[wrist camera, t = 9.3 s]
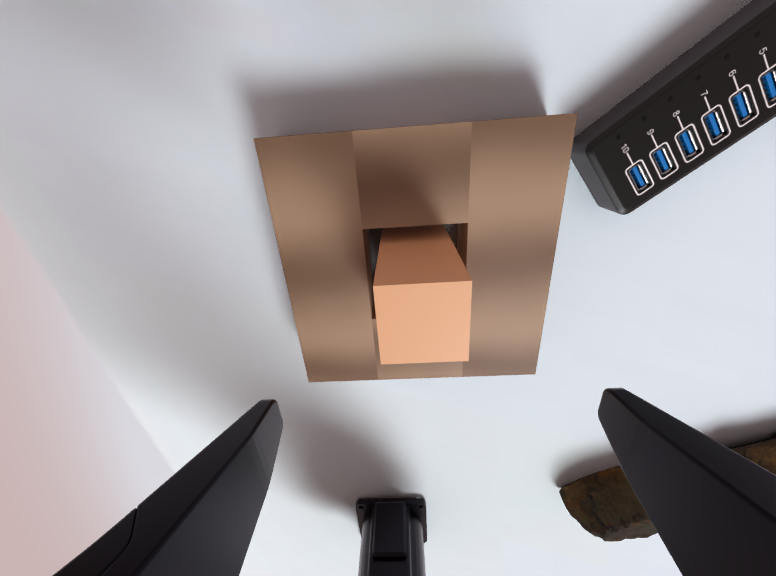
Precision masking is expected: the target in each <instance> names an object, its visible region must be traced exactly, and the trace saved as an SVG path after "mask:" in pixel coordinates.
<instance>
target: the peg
mask: <svg viewBox="0 0 776 576" xmlns="http://www.w3.org/2000/svg"><path fill="white" fill-rule="evenodd" d="M373 292H374V302H375V312H376V322H377V332H378V341H379V351H380V361H381V364H406V363H431V362H456V361H469V342H470V320H471V298H472V279H471V277H470V275H469V273H468V271H467V269H466V267H465V265H464V264H463V262H462V260H461V258H460V256H459V254H458V252H457V250H456V248H455V246H454V244H453V242H452V240H451V238H450V236H449V234H448V232H447V230H446V228H445V226H444V225H428V226H412V227H396V228H382V234H381V240H380V246H379V252H378V258H377V264H376V270H375V276H374V282H373Z"/></svg>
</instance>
